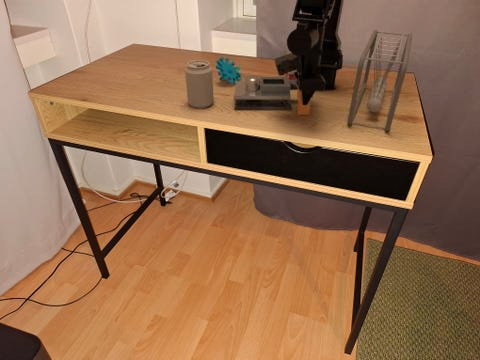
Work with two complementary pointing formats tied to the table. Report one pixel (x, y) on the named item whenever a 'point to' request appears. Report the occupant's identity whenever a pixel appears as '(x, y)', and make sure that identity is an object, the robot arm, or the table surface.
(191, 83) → the can
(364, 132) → the table surface
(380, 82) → the newton's cradle
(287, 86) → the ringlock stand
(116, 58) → the table surface
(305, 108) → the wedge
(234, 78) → the gear
